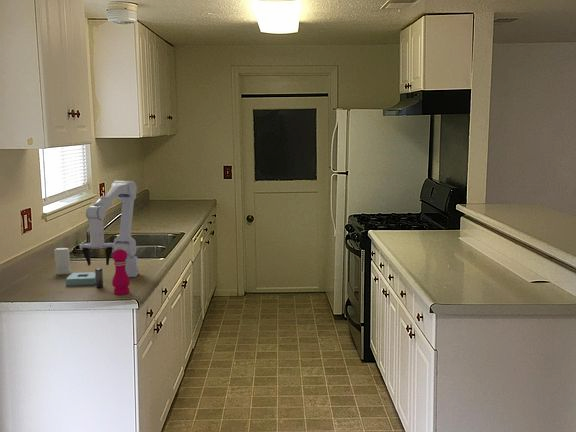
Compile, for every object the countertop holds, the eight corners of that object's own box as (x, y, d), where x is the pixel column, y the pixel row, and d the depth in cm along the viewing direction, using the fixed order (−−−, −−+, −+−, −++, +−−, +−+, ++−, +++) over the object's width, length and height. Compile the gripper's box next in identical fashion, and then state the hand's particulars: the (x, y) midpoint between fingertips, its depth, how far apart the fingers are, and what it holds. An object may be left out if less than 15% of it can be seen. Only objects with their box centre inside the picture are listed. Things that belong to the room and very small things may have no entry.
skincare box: (71, 272, 300) (69, 247, 298) (68, 274, 295) (67, 249, 294) (57, 272, 299) (56, 247, 297) (55, 274, 295) (53, 249, 293)
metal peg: (103, 286, 274) (102, 268, 272) (102, 287, 271) (101, 269, 269) (96, 286, 273) (95, 268, 272) (95, 288, 270) (94, 269, 269)
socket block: (99, 278, 287) (99, 271, 287) (94, 284, 276) (94, 278, 275) (72, 279, 286) (72, 272, 286) (66, 285, 274) (65, 279, 274)
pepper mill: (130, 294, 260) (128, 246, 257) (112, 295, 258) (110, 248, 255) (130, 290, 267) (128, 243, 264) (112, 291, 265) (110, 244, 262)
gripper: (77, 235, 264) (79, 267, 266) (112, 234, 265) (114, 266, 267) (81, 233, 271) (82, 263, 273) (115, 232, 272) (116, 262, 274)
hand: (98, 264), depth 270 cm, fingers open, 7 cm apart
